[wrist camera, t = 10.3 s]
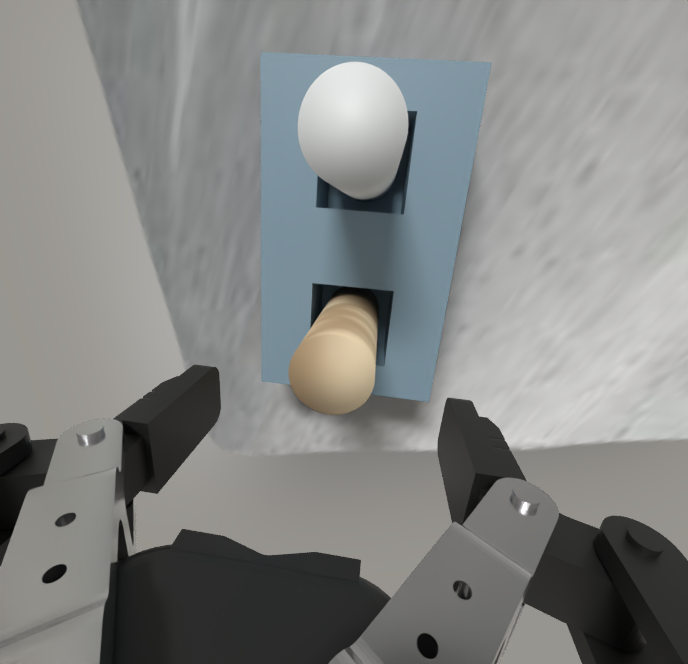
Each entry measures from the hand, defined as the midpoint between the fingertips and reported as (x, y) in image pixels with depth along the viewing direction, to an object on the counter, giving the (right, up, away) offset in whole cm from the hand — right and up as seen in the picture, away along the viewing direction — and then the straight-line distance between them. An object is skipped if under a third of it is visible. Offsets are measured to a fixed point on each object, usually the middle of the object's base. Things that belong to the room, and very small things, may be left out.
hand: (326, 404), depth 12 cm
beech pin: (+1, +4, +13) cm, 13 cm away
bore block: (+2, +9, +12) cm, 15 cm away
